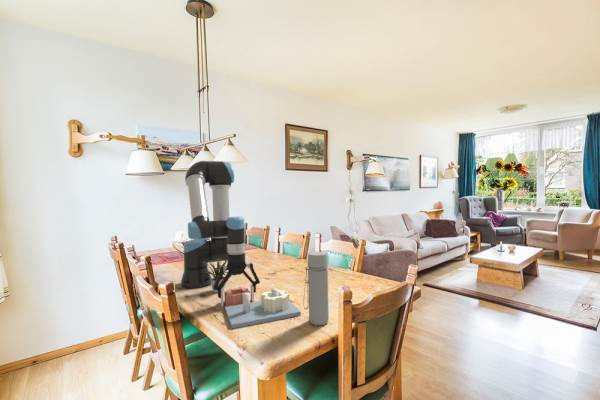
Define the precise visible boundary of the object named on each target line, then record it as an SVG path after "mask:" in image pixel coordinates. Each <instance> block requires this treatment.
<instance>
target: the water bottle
mask: <svg viewBox="0 0 600 400" xmlns="http://www.w3.org/2000/svg"><path fill="white" fill-rule="evenodd" d="M304 268H305V274H307V278H304V279H305V281H304V282H305V283H304V285H306V288H304V292H303V296H305V293H306V292H307V293H306V294H307V297H308V305H307V307H305V306H303V308H304V310H308V321H309V322H310V323H311V325H314V326H324V325H327V324H328V322H329V317H330V315H329V309H330V307H329V264H328V253H327V252H325V251H324V252H323V251H311V252H309V253H308V257H307V266H305V267H304ZM306 290H307V291H306ZM302 303H303V305H305V298H303V301H302Z"/></svg>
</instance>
